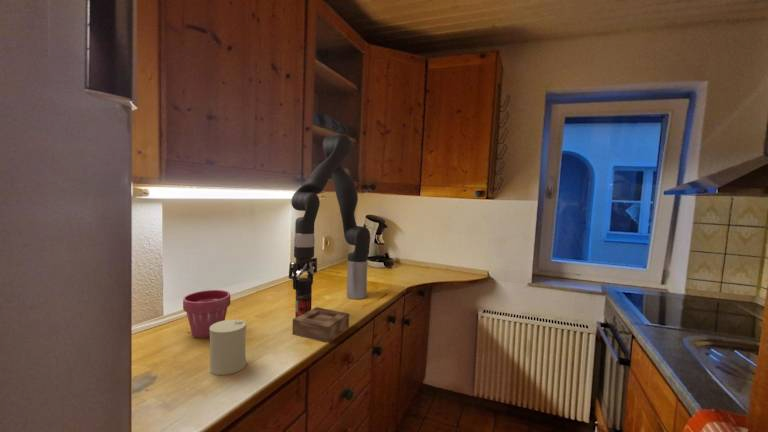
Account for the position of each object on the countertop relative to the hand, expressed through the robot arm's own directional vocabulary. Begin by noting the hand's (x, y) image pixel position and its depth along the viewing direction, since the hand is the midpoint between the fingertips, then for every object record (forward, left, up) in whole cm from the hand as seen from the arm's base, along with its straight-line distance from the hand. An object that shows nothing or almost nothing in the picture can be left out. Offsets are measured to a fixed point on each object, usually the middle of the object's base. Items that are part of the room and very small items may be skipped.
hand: (303, 286), depth 130 cm
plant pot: (+26, -20, -12) cm, 35 cm away
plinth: (+7, +13, -12) cm, 19 cm away
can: (+39, +4, -12) cm, 41 cm away
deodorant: (0, 0, -12) cm, 12 cm away
